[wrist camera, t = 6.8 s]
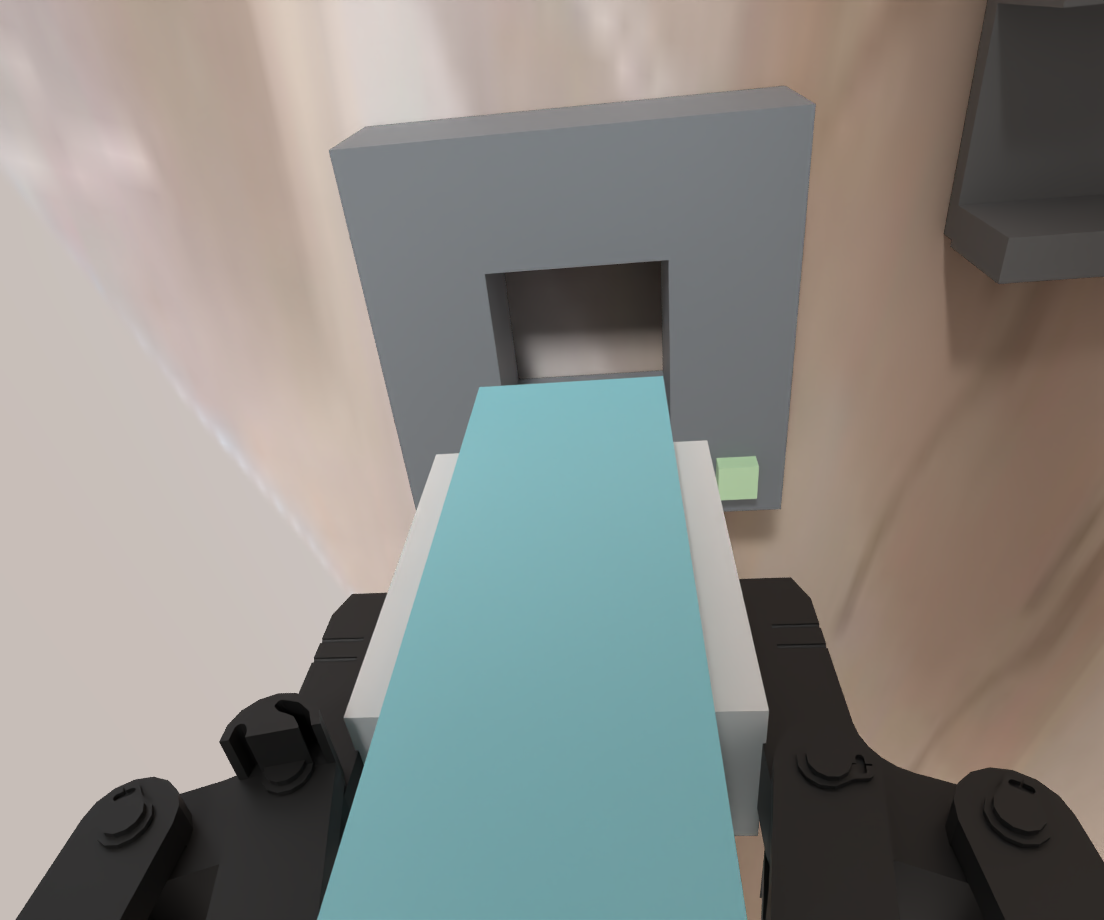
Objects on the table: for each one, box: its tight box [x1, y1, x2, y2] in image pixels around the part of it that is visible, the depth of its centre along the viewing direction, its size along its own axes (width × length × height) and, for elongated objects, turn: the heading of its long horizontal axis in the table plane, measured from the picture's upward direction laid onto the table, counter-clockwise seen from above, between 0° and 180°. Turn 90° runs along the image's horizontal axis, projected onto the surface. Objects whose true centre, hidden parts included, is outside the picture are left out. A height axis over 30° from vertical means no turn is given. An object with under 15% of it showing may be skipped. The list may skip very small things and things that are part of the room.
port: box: [329, 86, 816, 512], centre depth 23 cm, size 12×12×4 cm
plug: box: [317, 376, 747, 920], centre depth 12 cm, size 4×4×12 cm
